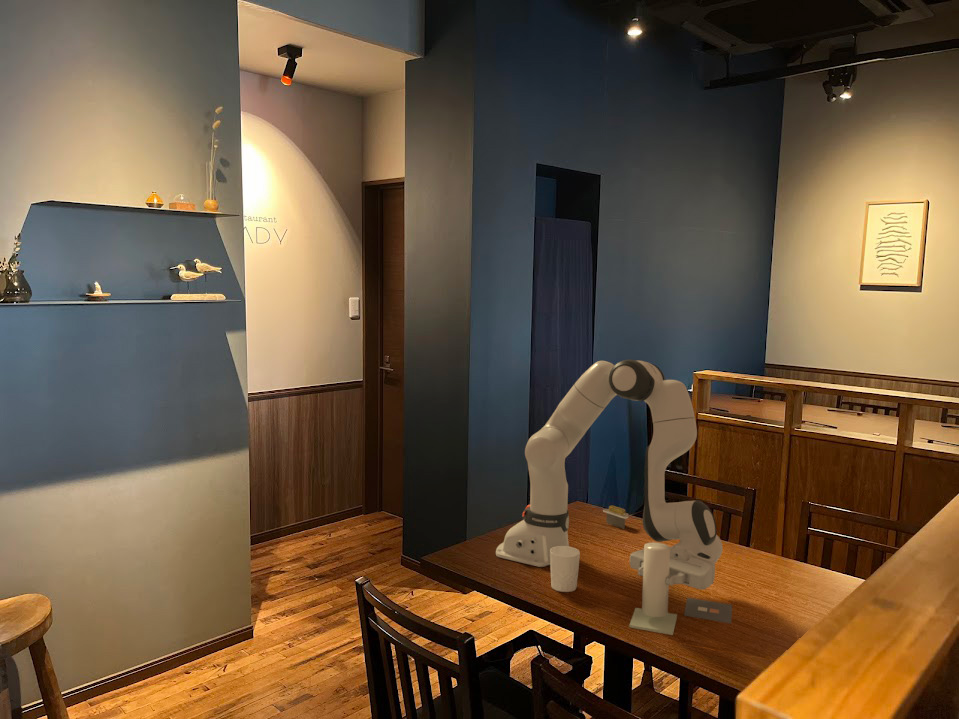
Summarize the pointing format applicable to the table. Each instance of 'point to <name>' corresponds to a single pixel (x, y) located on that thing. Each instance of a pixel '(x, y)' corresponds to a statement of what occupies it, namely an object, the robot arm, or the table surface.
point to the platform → (616, 516)
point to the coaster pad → (653, 622)
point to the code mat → (708, 610)
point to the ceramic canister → (655, 579)
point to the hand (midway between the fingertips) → (654, 577)
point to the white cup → (564, 568)
